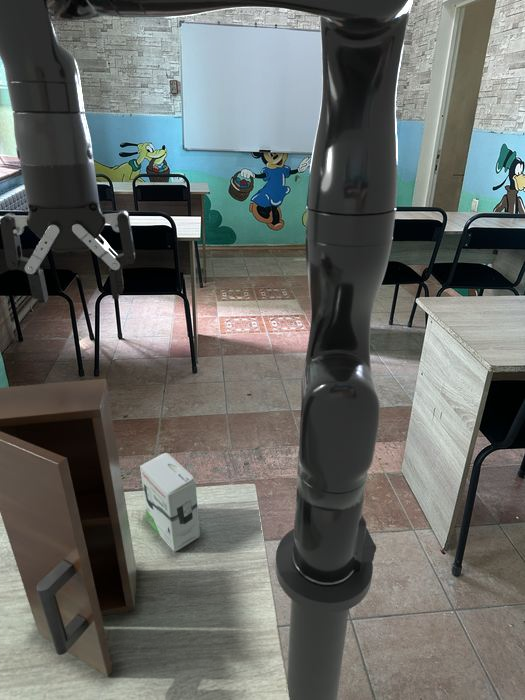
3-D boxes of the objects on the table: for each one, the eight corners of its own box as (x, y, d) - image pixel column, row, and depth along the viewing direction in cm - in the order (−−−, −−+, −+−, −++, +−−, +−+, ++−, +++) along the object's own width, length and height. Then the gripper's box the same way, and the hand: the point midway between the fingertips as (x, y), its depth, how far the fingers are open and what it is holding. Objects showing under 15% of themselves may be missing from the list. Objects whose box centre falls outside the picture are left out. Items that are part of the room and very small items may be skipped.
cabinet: (134, 610, 64) (100, 409, 50) (43, 625, 62) (-20, 420, 48) (136, 569, 70) (106, 378, 55) (53, 582, 68) (-1, 387, 53)
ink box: (145, 521, 78) (137, 463, 73) (171, 506, 81) (165, 449, 76) (174, 554, 72) (168, 494, 67) (201, 537, 75) (197, 478, 70)
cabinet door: (84, 708, 53) (22, 490, 39) (13, 660, 58) (-65, 450, 44) (113, 669, 57) (67, 457, 43) (45, 627, 62) (-18, 423, 48)
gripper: (126, 155, 57) (139, 286, 64) (-5, 156, 54) (25, 292, 61) (123, 161, 50) (138, 306, 57) (-26, 162, 48) (10, 314, 55)
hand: (80, 299), depth 59 cm, fingers open, 8 cm apart
